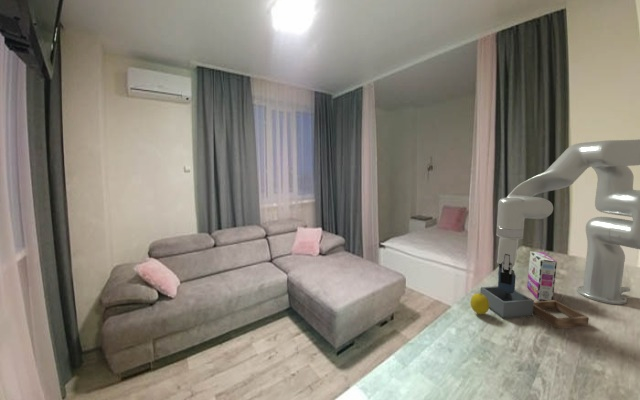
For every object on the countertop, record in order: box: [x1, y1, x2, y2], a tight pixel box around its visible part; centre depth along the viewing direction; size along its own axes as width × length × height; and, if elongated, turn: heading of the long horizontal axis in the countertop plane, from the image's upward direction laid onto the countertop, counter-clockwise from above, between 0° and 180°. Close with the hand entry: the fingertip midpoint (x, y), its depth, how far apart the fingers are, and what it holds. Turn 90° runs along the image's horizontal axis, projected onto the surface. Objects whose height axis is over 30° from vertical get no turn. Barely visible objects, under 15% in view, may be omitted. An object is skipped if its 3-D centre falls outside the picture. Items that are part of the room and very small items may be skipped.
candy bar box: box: [526, 250, 558, 301], centre depth 97 cm, size 11×5×16 cm, turn 156°
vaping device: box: [497, 263, 517, 293], centre depth 88 cm, size 3×5×12 cm, turn 26°
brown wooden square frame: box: [533, 299, 590, 330], centre depth 83 cm, size 11×11×3 cm
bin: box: [479, 285, 535, 320], centre depth 89 cm, size 11×11×6 cm
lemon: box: [470, 293, 490, 316], centre depth 86 cm, size 6×6×8 cm
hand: (506, 280), depth 88 cm, fingers closed on vaping device, 3 cm apart
